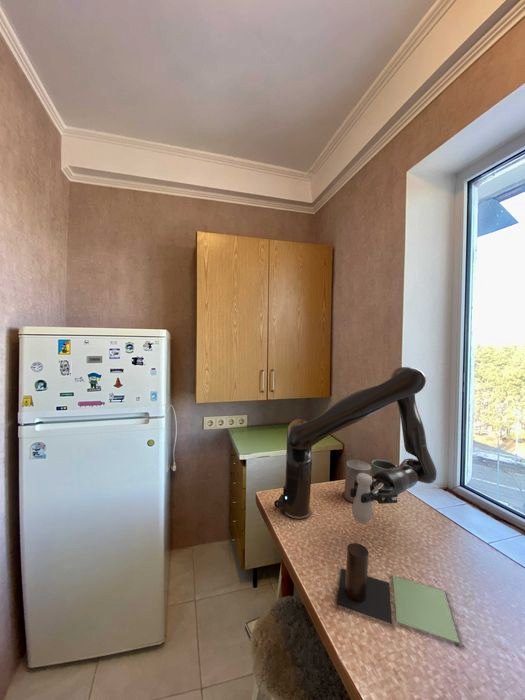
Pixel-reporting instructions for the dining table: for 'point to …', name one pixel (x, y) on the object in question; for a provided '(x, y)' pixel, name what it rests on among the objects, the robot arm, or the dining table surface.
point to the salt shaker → (359, 509)
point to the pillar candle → (354, 475)
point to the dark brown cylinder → (356, 572)
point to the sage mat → (423, 608)
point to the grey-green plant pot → (381, 466)
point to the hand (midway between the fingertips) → (356, 496)
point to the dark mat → (368, 599)
